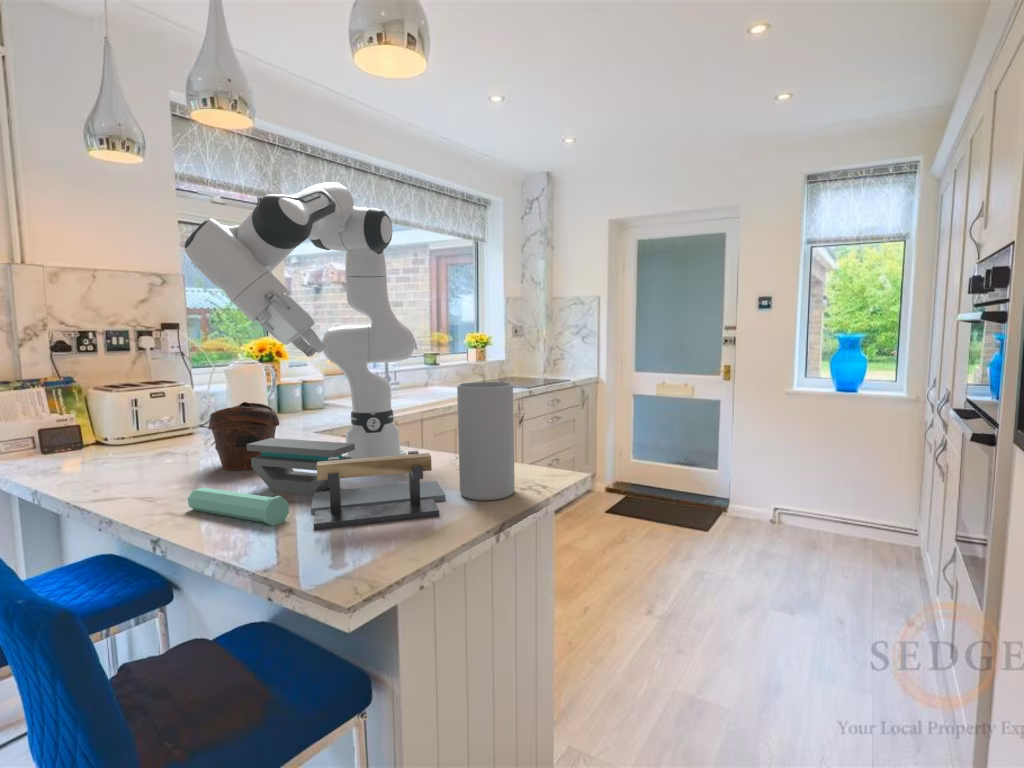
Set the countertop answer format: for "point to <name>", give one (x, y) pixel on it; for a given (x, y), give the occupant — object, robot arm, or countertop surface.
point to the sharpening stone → (294, 463)
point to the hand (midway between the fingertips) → (317, 352)
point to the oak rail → (373, 466)
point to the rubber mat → (377, 495)
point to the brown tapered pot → (241, 432)
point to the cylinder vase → (486, 440)
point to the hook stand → (375, 512)
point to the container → (240, 505)
